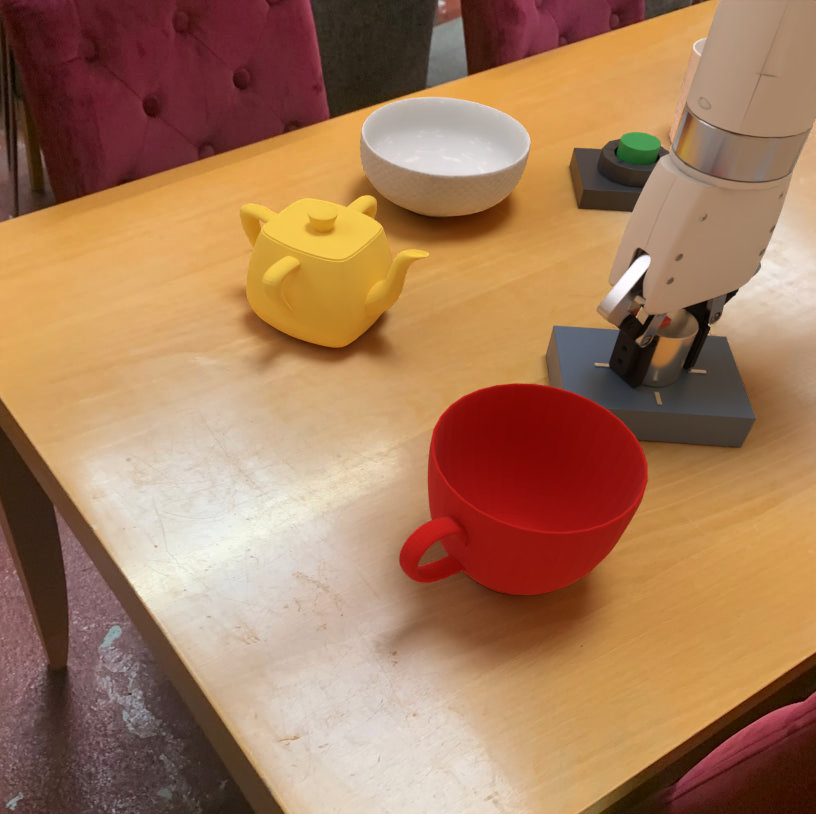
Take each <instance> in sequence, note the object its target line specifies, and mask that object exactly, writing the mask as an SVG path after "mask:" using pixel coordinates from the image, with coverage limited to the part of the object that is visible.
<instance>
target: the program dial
mask: <svg viewBox="0 0 816 814" xmlns="http://www.w3.org/2000/svg"><path fill="white" fill-rule="evenodd" d="M648 315H649V314H646V313H645V312H644V308H643V307H641V308H640V310H639V312H638V314H637V316H636V318H637V319H638V320H639V321H640V322H641V323H642V324H644V322H645V321H646V319H647V317H648ZM698 329H699V324H698V321H697V319H696V318H695V317H694V316H693V315H692V314H691V313H690V312H688V311H687V310H685V309H683V308H681V309H678V310H674V311H671V312H668V313H667V315H666V317H665V319H664V320H663V322H662V324H661V326H660V327H659V329H658V331H657V333H656V334H655V336H654V338H653V340H652V341H651V342H652V343H654V345H655V346H656V347H655V351H654V353H653V356H652V359H651V361H650V364H649V367H648V369H647V372H646V374H645V377H644V380H643V382H642V384H643V385H647V386H652V387H663V386H668V385H670V384H672V383H674V382H675V381H676V380H677V379H678V377H679V375H680V372H681V370H682V368H683V365H684V363H685V360H686V358H687V356H688V353H689V351H690V348H691V346H692V344H693V341H694V339H695V336H696V334H697V332H698Z"/></svg>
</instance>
